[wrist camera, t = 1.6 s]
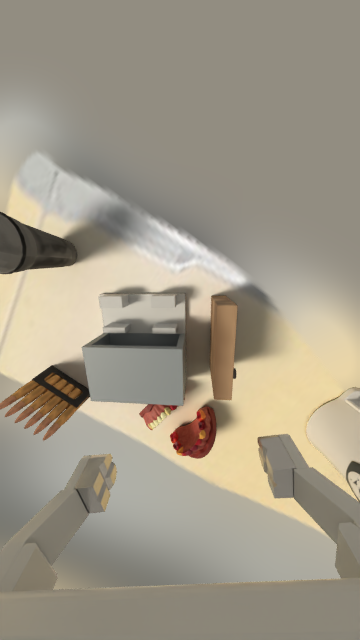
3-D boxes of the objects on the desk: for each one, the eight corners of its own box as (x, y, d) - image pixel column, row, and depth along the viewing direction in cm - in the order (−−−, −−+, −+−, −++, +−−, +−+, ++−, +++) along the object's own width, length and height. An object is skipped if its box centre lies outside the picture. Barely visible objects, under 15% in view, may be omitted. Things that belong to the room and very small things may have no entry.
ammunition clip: (92, 391, 40) (50, 439, 29) (89, 397, 41) (46, 446, 29) (51, 365, 39) (-9, 403, 28) (48, 371, 40) (-13, 411, 28)
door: (232, 295, 32) (247, 305, 22) (228, 366, 36) (239, 400, 26) (211, 295, 32) (217, 305, 23) (209, 365, 36) (214, 399, 26)
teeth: (161, 398, 30) (225, 450, 31) (169, 371, 37) (220, 414, 39) (125, 430, 33) (185, 476, 34) (139, 399, 40) (188, 438, 42)
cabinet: (185, 293, 33) (181, 299, 25) (186, 378, 37) (183, 405, 29) (101, 294, 34) (73, 300, 26) (112, 375, 39) (91, 400, 31)
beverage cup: (68, 223, 31) (-137, 145, 12) (91, 261, 33) (-59, 244, 13) (38, 245, 33) (-185, 207, 14) (62, 280, 34) (-111, 291, 15)
